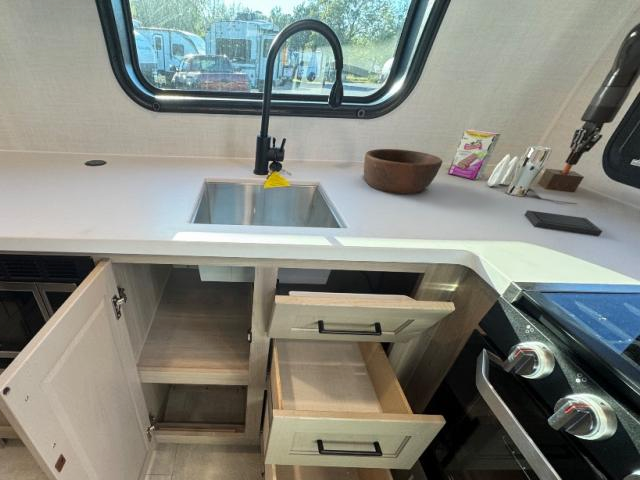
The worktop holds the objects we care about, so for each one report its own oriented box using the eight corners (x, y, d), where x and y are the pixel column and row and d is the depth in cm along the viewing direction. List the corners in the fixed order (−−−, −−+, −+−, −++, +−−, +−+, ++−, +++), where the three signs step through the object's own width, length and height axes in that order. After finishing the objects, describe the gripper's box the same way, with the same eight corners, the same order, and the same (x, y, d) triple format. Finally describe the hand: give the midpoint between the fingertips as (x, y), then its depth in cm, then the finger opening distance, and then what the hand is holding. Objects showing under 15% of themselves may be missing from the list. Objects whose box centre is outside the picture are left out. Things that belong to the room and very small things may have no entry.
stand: (561, 191, 115) (574, 171, 111) (570, 197, 109) (584, 176, 105) (535, 188, 118) (546, 168, 113) (542, 194, 111) (554, 173, 107)
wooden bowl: (411, 177, 127) (420, 149, 120) (445, 197, 106) (458, 165, 100) (350, 176, 126) (356, 148, 120) (373, 196, 106) (382, 164, 99)
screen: (580, 220, 89) (581, 218, 89) (592, 230, 83) (594, 228, 83) (532, 214, 92) (534, 212, 92) (541, 223, 87) (542, 221, 86)
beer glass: (503, 189, 115) (526, 144, 106) (527, 193, 112) (552, 147, 103) (503, 194, 111) (527, 147, 102) (527, 198, 107) (554, 150, 98)
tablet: (582, 223, 90) (586, 218, 89) (598, 236, 82) (602, 231, 82) (524, 214, 94) (527, 210, 93) (534, 227, 87) (537, 221, 86)
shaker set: (493, 189, 115) (509, 156, 109) (482, 186, 118) (496, 154, 112) (510, 185, 120) (527, 153, 114) (499, 182, 123) (514, 151, 117)
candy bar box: (446, 174, 132) (464, 130, 122) (452, 172, 134) (470, 129, 124) (474, 180, 124) (495, 134, 114) (480, 179, 126) (501, 133, 117)
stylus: (556, 190, 113) (581, 147, 105) (557, 191, 112) (583, 148, 104) (550, 189, 113) (575, 147, 105) (552, 190, 112) (577, 148, 104)
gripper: (633, 106, 91) (592, 169, 101) (610, 103, 101) (575, 161, 111) (600, 105, 93) (564, 166, 103) (581, 102, 103) (549, 158, 114)
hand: (570, 163), depth 107 cm, fingers closed on stylus, 1 cm apart
